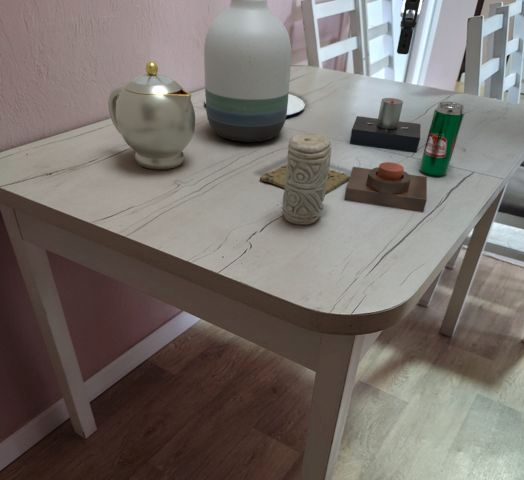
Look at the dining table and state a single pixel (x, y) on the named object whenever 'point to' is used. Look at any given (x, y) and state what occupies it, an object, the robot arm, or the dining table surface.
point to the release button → (390, 171)
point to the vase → (247, 72)
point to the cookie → (280, 174)
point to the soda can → (441, 138)
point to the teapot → (153, 118)
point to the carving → (306, 178)
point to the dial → (389, 113)
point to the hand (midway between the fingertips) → (403, 49)
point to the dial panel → (385, 135)
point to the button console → (387, 190)
